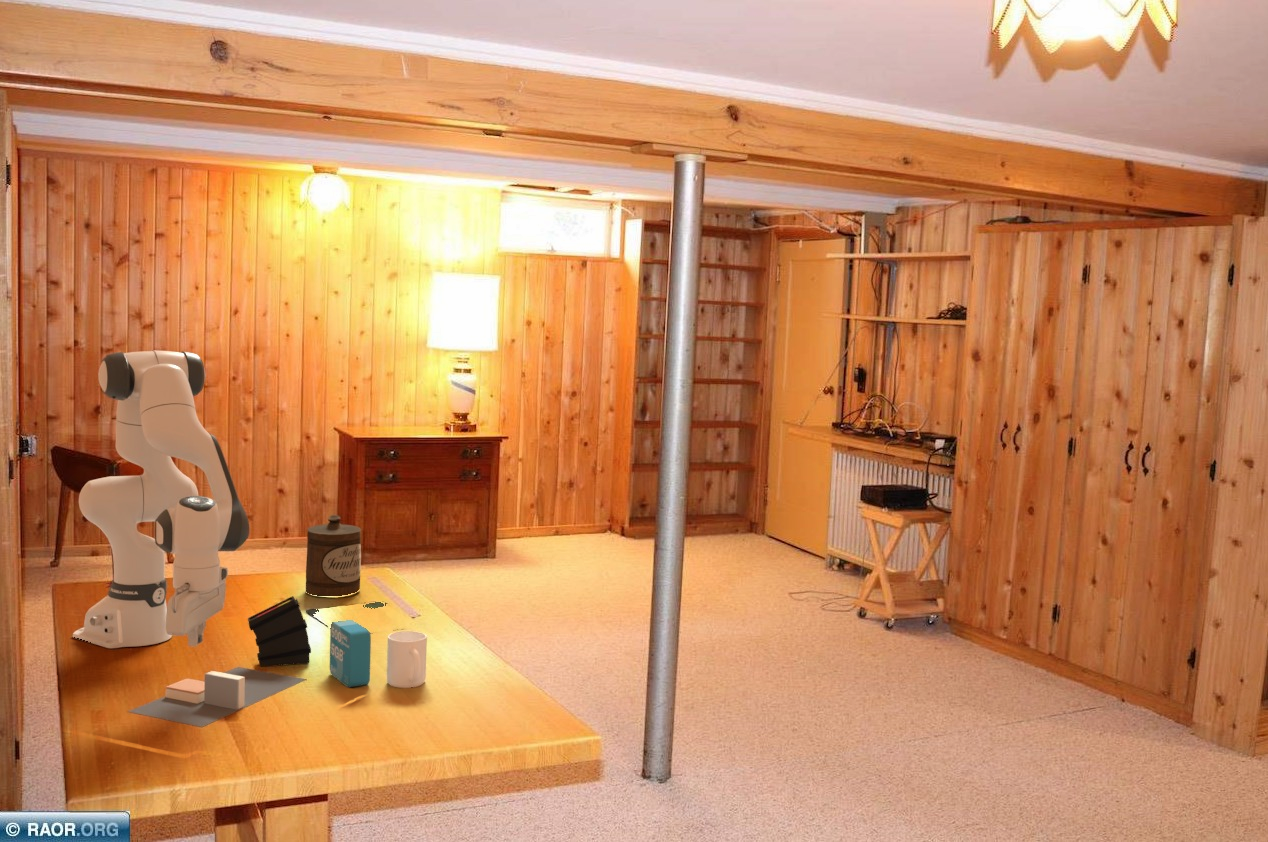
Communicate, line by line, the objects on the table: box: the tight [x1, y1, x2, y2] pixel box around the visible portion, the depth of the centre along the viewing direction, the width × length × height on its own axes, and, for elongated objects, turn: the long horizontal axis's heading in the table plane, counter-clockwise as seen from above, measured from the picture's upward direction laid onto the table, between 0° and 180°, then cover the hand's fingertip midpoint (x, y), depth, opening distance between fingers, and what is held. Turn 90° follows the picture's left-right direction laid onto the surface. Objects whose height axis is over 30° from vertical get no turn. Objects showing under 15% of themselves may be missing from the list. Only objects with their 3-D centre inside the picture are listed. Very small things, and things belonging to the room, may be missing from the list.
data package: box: [329, 620, 372, 688], centre depth 248 cm, size 12×4×12 cm, turn 36°
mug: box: [386, 630, 428, 689], centre depth 246 cm, size 12×8×10 cm
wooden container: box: [305, 514, 362, 596], centre depth 322 cm, size 15×15×22 cm
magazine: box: [247, 595, 312, 667], centre depth 257 cm, size 4×13×15 cm, turn 111°
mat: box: [127, 666, 307, 728], centre depth 234 cm, size 18×32×1 cm, turn 159°
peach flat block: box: [165, 678, 205, 704], centre depth 232 cm, size 8×2×6 cm
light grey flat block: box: [204, 670, 245, 710], centre depth 228 cm, size 8×2×6 cm, turn 69°
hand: (195, 644), depth 233 cm, fingers closed
